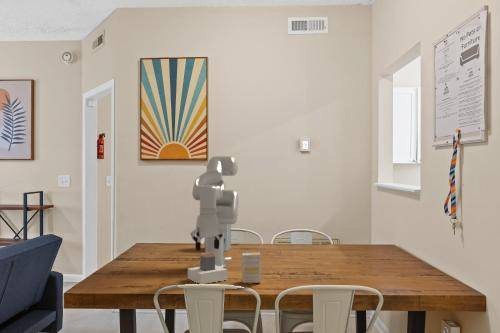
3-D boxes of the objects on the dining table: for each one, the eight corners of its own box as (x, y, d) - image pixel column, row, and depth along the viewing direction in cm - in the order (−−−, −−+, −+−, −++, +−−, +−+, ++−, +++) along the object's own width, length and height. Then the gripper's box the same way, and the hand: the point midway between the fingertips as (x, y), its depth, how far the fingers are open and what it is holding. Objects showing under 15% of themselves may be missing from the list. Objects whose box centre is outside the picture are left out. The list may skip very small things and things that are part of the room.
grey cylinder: (209, 277, 190) (209, 252, 190) (214, 280, 186) (215, 254, 186) (200, 279, 187) (200, 253, 187) (205, 281, 183) (205, 255, 183)
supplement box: (259, 280, 185) (260, 252, 185) (260, 283, 180) (260, 254, 180) (241, 281, 185) (242, 252, 185) (242, 284, 180) (242, 254, 180)
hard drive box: (204, 249, 255) (204, 218, 255) (208, 247, 262) (209, 216, 263) (227, 251, 251) (227, 219, 251) (231, 249, 258) (231, 217, 258)
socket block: (213, 274, 195) (213, 264, 195) (227, 280, 186) (227, 269, 186) (187, 279, 187) (187, 268, 187) (200, 285, 177) (200, 273, 177)
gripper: (219, 211, 194) (219, 246, 194) (187, 212, 184) (186, 250, 184) (228, 212, 188) (227, 249, 188) (195, 213, 178) (194, 252, 178)
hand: (207, 249), depth 186 cm, fingers open, 9 cm apart
